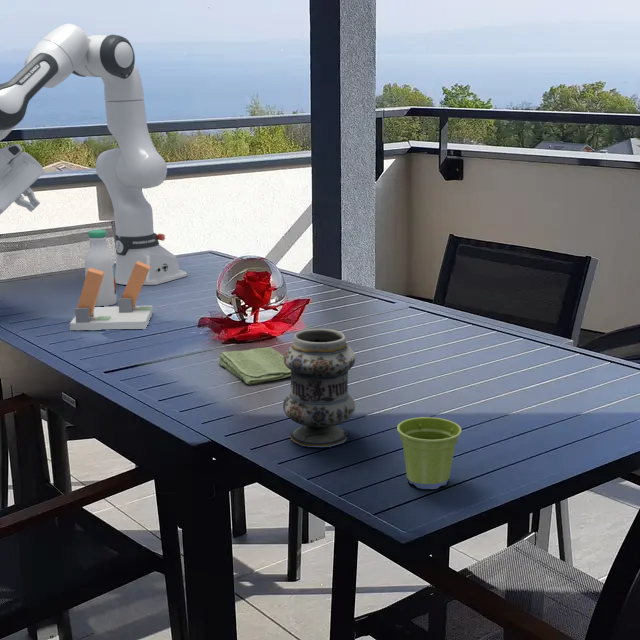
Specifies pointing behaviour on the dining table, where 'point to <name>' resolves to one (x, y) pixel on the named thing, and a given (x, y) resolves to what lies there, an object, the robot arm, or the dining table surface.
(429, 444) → the plant pot
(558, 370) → the dining table surface
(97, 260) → the milk bottle
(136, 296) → the lever
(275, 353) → the washcloth
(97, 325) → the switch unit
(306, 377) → the apothecary jar
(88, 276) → the lever
